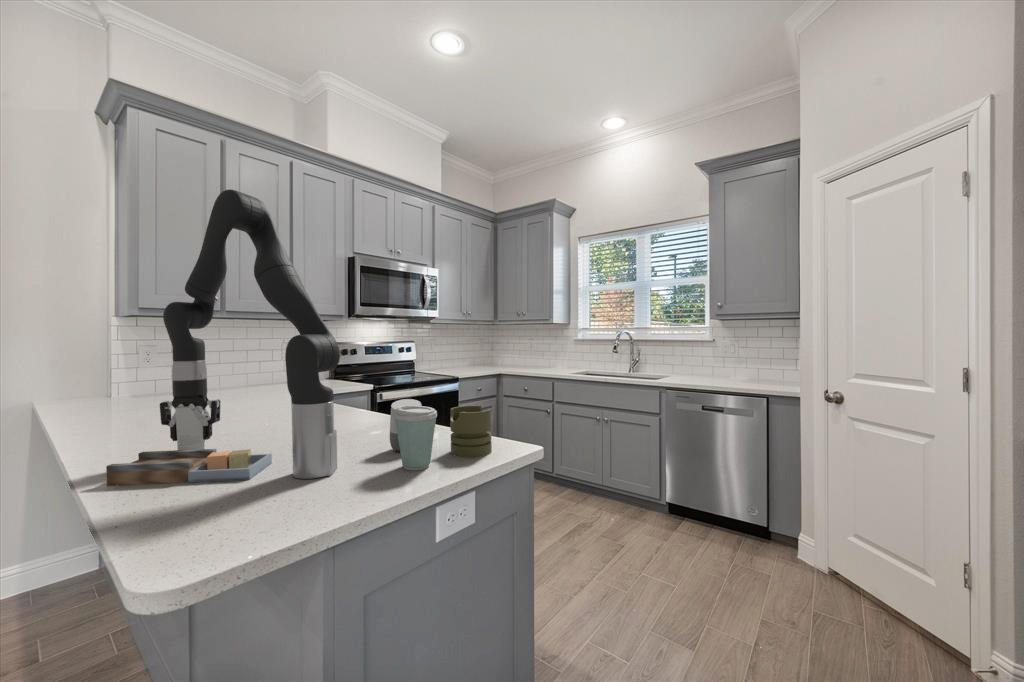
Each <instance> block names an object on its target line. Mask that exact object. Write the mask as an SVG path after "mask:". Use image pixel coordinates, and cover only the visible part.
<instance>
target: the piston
mask: <svg viewBox="0 0 1024 682" xmlns="http://www.w3.org/2000/svg"><path fill="white" fill-rule="evenodd" d="M449 413H450V417H449V419H450V424H449V425H450V431H451V432H452V433H451V434H450V454H451V455H452V456H454V457H458V458H468V459H469V458H471V459H472V458H480V457H486V456H488V455H490V454H491V453H492V442H493V441H492V432H490V431H491V430H492V409H491V408H489V409H487V410H483V408H482V405H461V406H455V407H451V408H450V411H449Z"/></svg>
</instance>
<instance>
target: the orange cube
mask: <svg viewBox="0 0 1024 682" xmlns="http://www.w3.org/2000/svg"><path fill="white" fill-rule="evenodd" d="M231 452H232V451H231V450H229V451H228V450H227V451H216V452H213V453H211V454H210V455H209V456H208V457H207V470H217V469H229V454H230V453H231Z"/></svg>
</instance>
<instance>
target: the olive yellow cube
mask: <svg viewBox="0 0 1024 682" xmlns="http://www.w3.org/2000/svg"><path fill="white" fill-rule="evenodd" d="M251 455H252V450H251V449H250V448H249V449H248V448H247V449H238V450H237V449H236V450H232V451H231V453H230V454H229V469H238V468H248V467H250V466H251Z"/></svg>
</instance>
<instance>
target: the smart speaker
mask: <svg viewBox="0 0 1024 682" xmlns="http://www.w3.org/2000/svg"><path fill="white" fill-rule="evenodd" d="M399 406H423V405H422V403H421V401H419V400H417V399H412V398H405V399H399V400H395V401H394V402H392V403H391V405H390V407H391V408H390V419H389V420H390V421H389V443H390V447H391V449H392V450H393V451H395V452H397V453H400V447H399V440H398V434H397V428H396V422H395V418H394V414H395V412H396V408H397V407H399Z"/></svg>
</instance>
